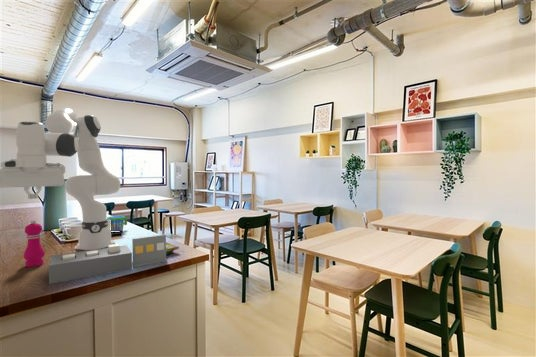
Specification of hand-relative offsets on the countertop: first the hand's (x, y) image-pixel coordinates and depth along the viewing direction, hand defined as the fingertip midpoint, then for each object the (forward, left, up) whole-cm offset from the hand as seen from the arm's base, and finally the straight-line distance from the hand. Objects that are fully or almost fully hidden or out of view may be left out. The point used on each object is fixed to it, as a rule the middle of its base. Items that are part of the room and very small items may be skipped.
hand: (33, 198), depth 110 cm
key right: (+5, +27, -26) cm, 38 cm away
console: (+5, +19, -31) cm, 37 cm away
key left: (+5, +11, -28) cm, 30 cm away
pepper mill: (-18, -2, -31) cm, 36 cm away
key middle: (+5, +19, -28) cm, 34 cm away
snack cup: (-69, +36, -31) cm, 83 cm away
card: (+8, +41, -31) cm, 52 cm away
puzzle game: (-7, +48, -32) cm, 58 cm away
